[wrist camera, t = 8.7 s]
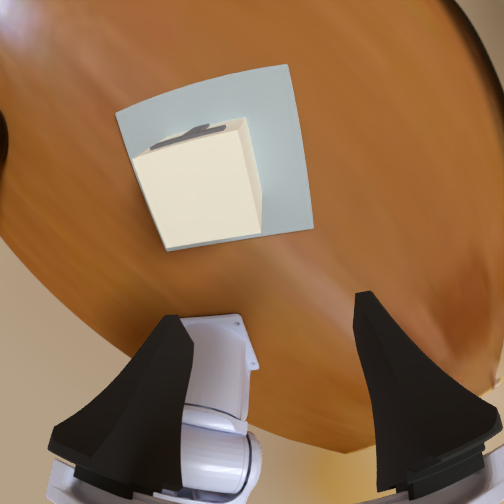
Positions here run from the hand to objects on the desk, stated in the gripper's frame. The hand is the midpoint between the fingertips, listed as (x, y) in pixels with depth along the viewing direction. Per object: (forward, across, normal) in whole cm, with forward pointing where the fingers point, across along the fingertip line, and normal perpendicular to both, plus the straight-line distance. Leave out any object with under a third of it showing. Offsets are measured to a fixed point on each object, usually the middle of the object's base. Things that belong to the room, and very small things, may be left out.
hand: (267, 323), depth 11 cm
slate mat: (+9, +2, -4) cm, 11 cm away
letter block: (+9, +2, -4) cm, 10 cm away
